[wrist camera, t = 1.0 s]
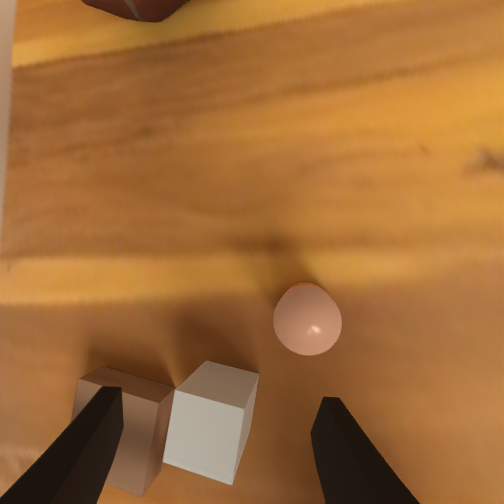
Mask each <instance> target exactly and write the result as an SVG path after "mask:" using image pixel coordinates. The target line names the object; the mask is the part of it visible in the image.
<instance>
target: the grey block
mask: <svg viewBox="0 0 504 504" xmlns="http://www.w3.org/2000/svg"><path fill="white" fill-rule="evenodd" d="M258 379H259V374H258V373H254V372H250V371H246V370H242V369H238V368H234V367H230V366H226V365H222V364H218V363H214V362H210V361H205V362H204V363H203V364H202V365H201V366H200V367H199V368H197V369H196V370H195V371H194V372H193V373H192V374H191V375H190V376H189V377H188V378H187V379H186V380H185V381H184V382H183V383H182V384H181V385H180V386H179V387H178V388H177V389H176V390H175V393H174V399H173V405H172V411H171V417H170V423H169V429H168V434H167V440H166V446H165V452H164V458H163V462H164V463H167V464H170V465H173V466H176V467H179V468H182V469H185V470H188V471H191V472H194V473H197V474H200V475H203V476H205V477H208V478H211V479H214V480H217V481H220V482H223V483H226V484H229V485H232V484H233V481H234V478H235V475H236V472H237V469H238V466H239V463H240V460H241V457H242V454H243V450H244V447H245V444H246V441H247V438H248V435H249V432H250V428H251V422H252V416H253V410H254V404H255V398H256V391H257V385H258Z"/></svg>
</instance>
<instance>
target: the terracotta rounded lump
mask: <svg viewBox="0 0 504 504" xmlns="http://www.w3.org/2000/svg"><path fill="white" fill-rule="evenodd" d="M273 324H274V329H275V332H276V335H277V337H278V338H279V340H280V341H281V342H282V344H283V345H284V346H286V347H287V348H288V349H289V350H291V351H293V352H295V353H298V354H301V355H317V354H320V353H323V352H325V351H327V350H328V349H330V348H331V347H332V346H333V345H334V344H335V342H336V341H337V339H338V337H339V335H340V332H341V328H342V318H341V314H340V310H339V308H338V306H337V305H336V303H335V302H334V300H333V299H332V298H331V297H330V296H329V294H328V293H327V292H326V291H325V290H324V289H323V288H321V287H320V286H318V285H316V284H313V283H308V282H303V283H298V284H295V285H293V286H292V287H290V288H289V289H288V290H287V291H286V292H285V294H284V295H283V296H282V298H281V299H280V300H279V302H278V303H277V305H276V308H275V310H274V315H273Z"/></svg>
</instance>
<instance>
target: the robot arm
mask: <svg viewBox="0 0 504 504" xmlns="http://www.w3.org/2000/svg"><path fill="white" fill-rule="evenodd" d="M123 428H124V420H123V402H122V387H111V386H102V387H101V388H100V389H99V390H98V391H97V392H96V394H95V395H94V396H93V397H92V399H91V400H90V401H89V402H88V403H87V405H86V406H85V407H84V408H83V409H82V411H81V412H80V413H79V414H78V415H77V416H76V418H75V419H74V420H73V421H72V422H71V423H70V424H69V426H68V427H67V428H66V429H65V430H64V431H63V432H62V433H61V435H60V436H59V437H58V438H57V439H56V440H55V441H54V442H53V443H52V444H51V446H50V447H49V448H48V449H47V450H46V451H45V452H44V453H43V454H42V455H41V456H40V457H39V459H38V460H37V461H36V462H35V463H34V464H33V465H32V466H31V467H30V468H29V469H28V470H27V471H26V472H25V473H24V474H23V475H22V476H21V477H20V478H19V479H18V480H17V481H16V482H15V483H14V484H13V485H12V486H11V487H10V488H9V489H8V490H7V491H6V492H5V493H4V494H3V495H2V496H1V497H0V504H96V503H97V501H98V498H99V496H100V494H101V491H102V489H103V486H104V484H105V481H106V479H107V476H108V474H109V471H110V469H111V466H112V464H113V461H114V458H115V454H116V451H117V448H118V445H119V441H120V438H121V435H122V431H123ZM311 438H312V445H313V451H314V457H315V462H316V467H317V471H318V475H319V479H320V482H321V486H322V490H323V494H324V497H325V501H326V504H420V503H419V502H418V501H417V500H416V498H415V497H414V496H413V495H412V494H411V492H410V491H409V490H408V489H407V487H406V486H405V485H404V484H403V483H402V481H401V480H400V479H399V478H398V476H397V475H396V474H395V473H394V471H393V470H392V469H391V468H390V466H389V465H388V464H387V462H386V461H385V460H384V458H383V457H382V456H381V454H380V453H379V452H378V450H377V449H376V448H375V447H374V445H373V444H372V442H371V441H370V440H369V438H368V437H367V436H366V434H365V433H364V432H363V430H362V429H361V427H360V426H359V425H358V423H357V422H356V420H355V419H354V418H353V416H352V415H351V413H350V412H349V411H348V409H347V408H346V406H345V405H344V404H343V402H342V401H341V400H340V398H335V397H323V400H322V402H321V405H320V408H319V411H318V414H317V416H316V419H315V422H314V425H313V428H312V430H311Z"/></svg>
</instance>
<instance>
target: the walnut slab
mask: <svg viewBox="0 0 504 504" xmlns="http://www.w3.org/2000/svg"><path fill="white" fill-rule="evenodd" d="M102 386H111V387H122V402H123V420H124V428H123V431H122V435H121V438H120V441H119V445H118V448H117V451H116V454H115V458H114V461H113V464H112V466H111V469H110V471H109V474H108V476H107V479H106V481H105V484H107V485H110V486H112V487H115V488H118V489H120V490H123V491H125V492H128V493H131V494H133V495H136V496H138V497H141V498H142V497H143V495H144V494H145V492H146V491H147V490H148V488H149V487H150V485H151V484H152V482H153V481H154V480H155V478H156V477H157V475H158V474H159V472H160V471H161V465H162V460H163V454H164V448H165V443H166V437H167V432H168V426H169V421H170V415H171V410H172V404H173V399H174V393H175V388H176V387H172V386H169V385H166V384H162V383H159V382H155V381H152V380H148V379H145V378H141V377H138V376H135V375H131V374H128V373H124V372H121V371H117V370H114V369H111V368H107V367H104V366H103V367H101V368H99V369H97V370H95V371H93V372H91V373H89V374H87V375H85V376H83V377H81V378H79V380H78V386H77V391H76V397H75V402H74V407H73V413H72V418H71V422H72V421H73V420H74V419H75V418H76V416H77V415H78V414H79V413H80V412H81V411H82V409H83V408H84V407H85V406H86V405H87V403H88V402H89V401H90V400H91V399H92V397H93V396H94V395H95V394H96V392H97V391H98V390H99V389H100V388H101V387H102Z"/></svg>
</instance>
